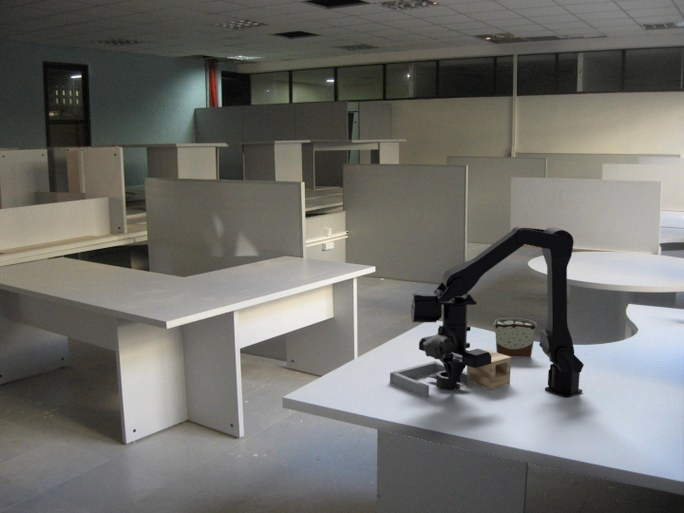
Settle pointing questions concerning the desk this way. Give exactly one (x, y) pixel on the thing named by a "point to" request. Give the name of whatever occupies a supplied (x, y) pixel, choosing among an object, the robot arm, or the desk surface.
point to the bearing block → (492, 372)
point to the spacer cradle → (406, 375)
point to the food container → (515, 336)
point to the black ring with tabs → (445, 381)
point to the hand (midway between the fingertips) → (452, 385)
